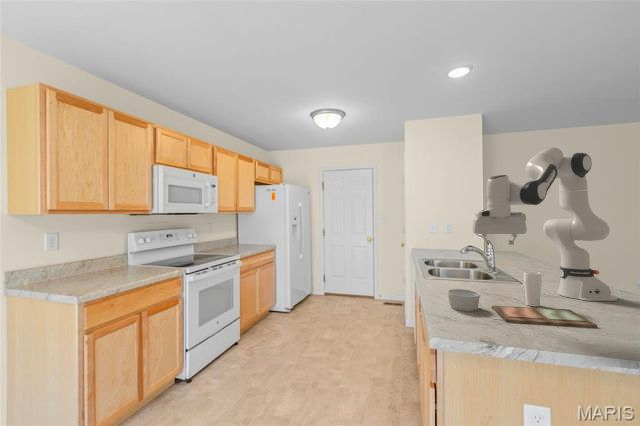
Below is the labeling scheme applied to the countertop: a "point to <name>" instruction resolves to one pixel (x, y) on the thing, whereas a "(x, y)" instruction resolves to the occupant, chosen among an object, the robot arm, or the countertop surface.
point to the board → (542, 316)
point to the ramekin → (463, 299)
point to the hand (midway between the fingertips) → (499, 244)
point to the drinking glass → (532, 288)
